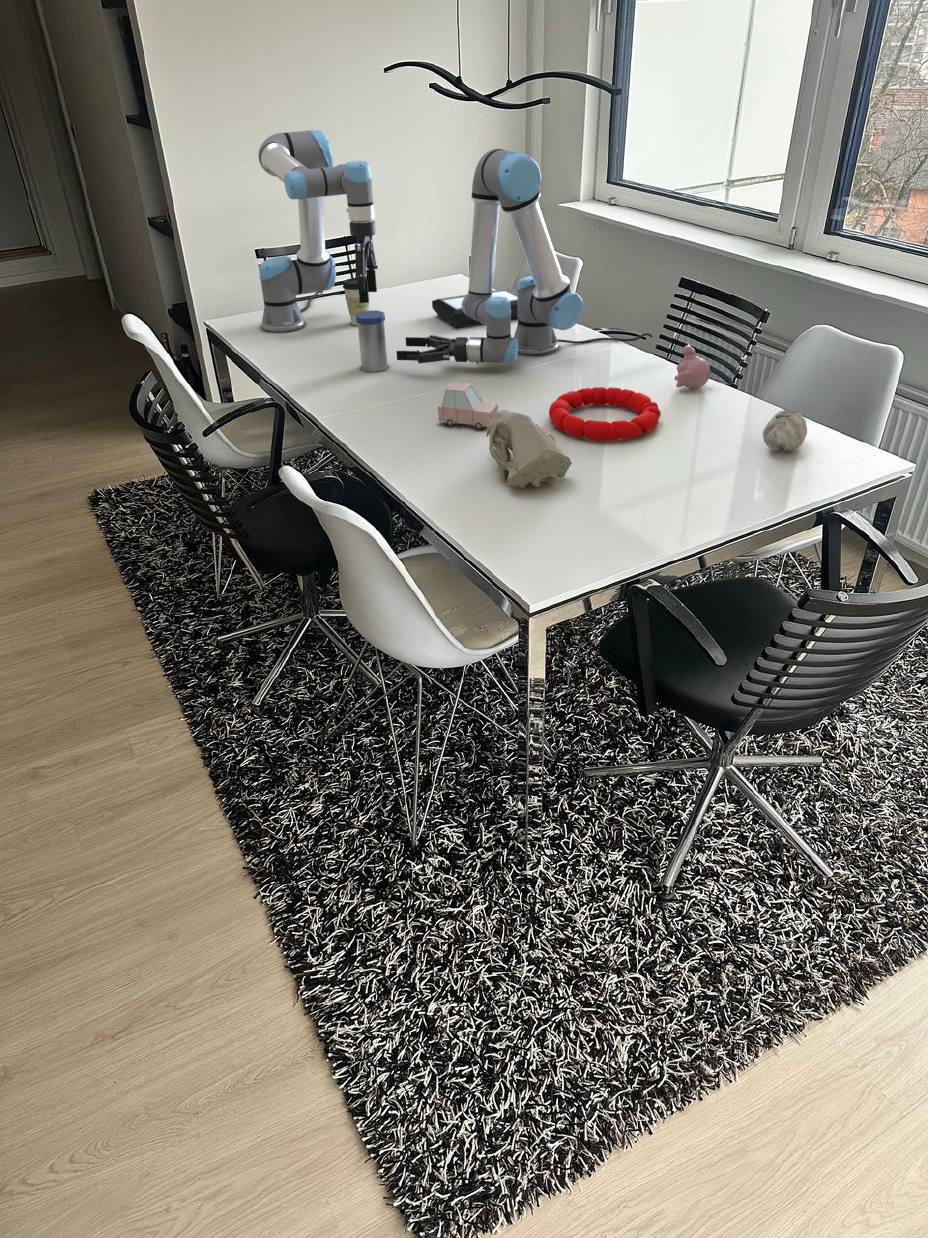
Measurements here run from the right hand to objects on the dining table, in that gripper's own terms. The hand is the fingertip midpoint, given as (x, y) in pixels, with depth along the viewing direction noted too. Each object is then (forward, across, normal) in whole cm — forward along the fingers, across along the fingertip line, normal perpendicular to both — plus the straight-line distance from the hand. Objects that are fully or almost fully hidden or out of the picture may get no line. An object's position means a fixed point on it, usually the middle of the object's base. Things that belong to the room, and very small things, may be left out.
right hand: (401, 348), depth 281 cm
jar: (+9, 0, -7) cm, 11 cm away
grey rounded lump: (-110, -53, -7) cm, 123 cm away
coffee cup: (+26, +48, -7) cm, 55 cm away
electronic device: (-18, +59, -7) cm, 62 cm away
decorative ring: (-65, -39, -7) cm, 76 cm away
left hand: (+9, 0, +16) cm, 18 cm away
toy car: (-28, -43, -7) cm, 52 cm away
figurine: (-89, -12, -7) cm, 90 cm away
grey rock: (-45, -72, -7) cm, 85 cm away
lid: (+9, 0, +10) cm, 14 cm away
